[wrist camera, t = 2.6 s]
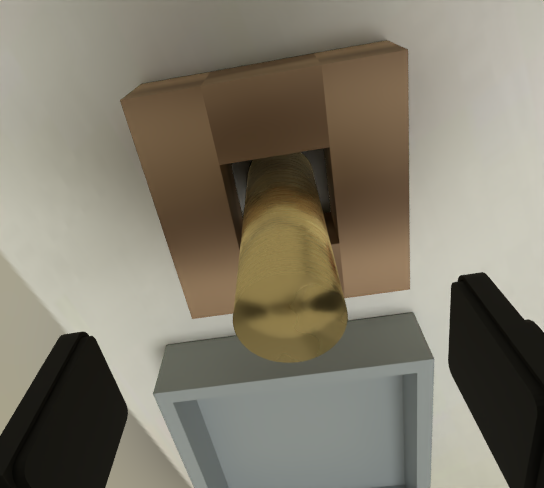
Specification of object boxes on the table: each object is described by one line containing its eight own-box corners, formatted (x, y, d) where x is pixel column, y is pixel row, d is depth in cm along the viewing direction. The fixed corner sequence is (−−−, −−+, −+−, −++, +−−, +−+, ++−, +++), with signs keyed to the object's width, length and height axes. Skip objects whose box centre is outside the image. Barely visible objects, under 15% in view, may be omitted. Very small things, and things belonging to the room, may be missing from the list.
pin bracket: (141, 84, 18) (120, 100, 15) (386, 40, 17) (408, 49, 15) (200, 281, 23) (192, 318, 20) (393, 254, 22) (409, 289, 20)
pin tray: (166, 345, 25) (153, 393, 22) (413, 312, 24) (434, 358, 21) (226, 501, 33) (222, 552, 30) (413, 481, 32) (429, 533, 29)
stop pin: (242, 151, 19) (221, 282, 11) (309, 140, 19) (342, 265, 11) (254, 211, 21) (244, 368, 12) (316, 202, 21) (351, 355, 12)
